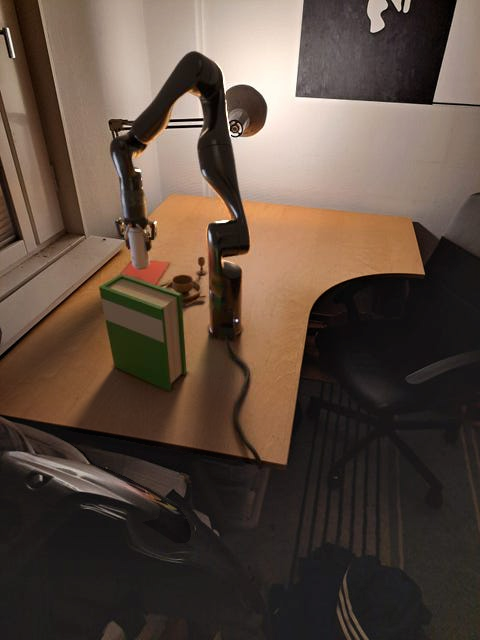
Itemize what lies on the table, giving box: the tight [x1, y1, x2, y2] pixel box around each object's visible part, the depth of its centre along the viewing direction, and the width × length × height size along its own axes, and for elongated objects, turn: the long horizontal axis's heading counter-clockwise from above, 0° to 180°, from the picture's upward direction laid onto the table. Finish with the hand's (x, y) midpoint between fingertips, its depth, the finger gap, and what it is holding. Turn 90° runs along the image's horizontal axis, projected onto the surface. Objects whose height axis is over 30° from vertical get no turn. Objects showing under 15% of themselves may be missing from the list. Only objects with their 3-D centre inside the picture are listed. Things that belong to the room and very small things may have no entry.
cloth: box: [121, 260, 170, 285], centre depth 150 cm, size 20×14×1 cm
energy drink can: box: [128, 227, 151, 270], centre depth 144 cm, size 6×6×15 cm
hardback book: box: [98, 273, 187, 392], centre depth 102 cm, size 18×7×24 cm, turn 61°
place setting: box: [159, 256, 207, 307], centre depth 141 cm, size 18×20×6 cm
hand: (139, 249), depth 144 cm, fingers closed on energy drink can, 6 cm apart
